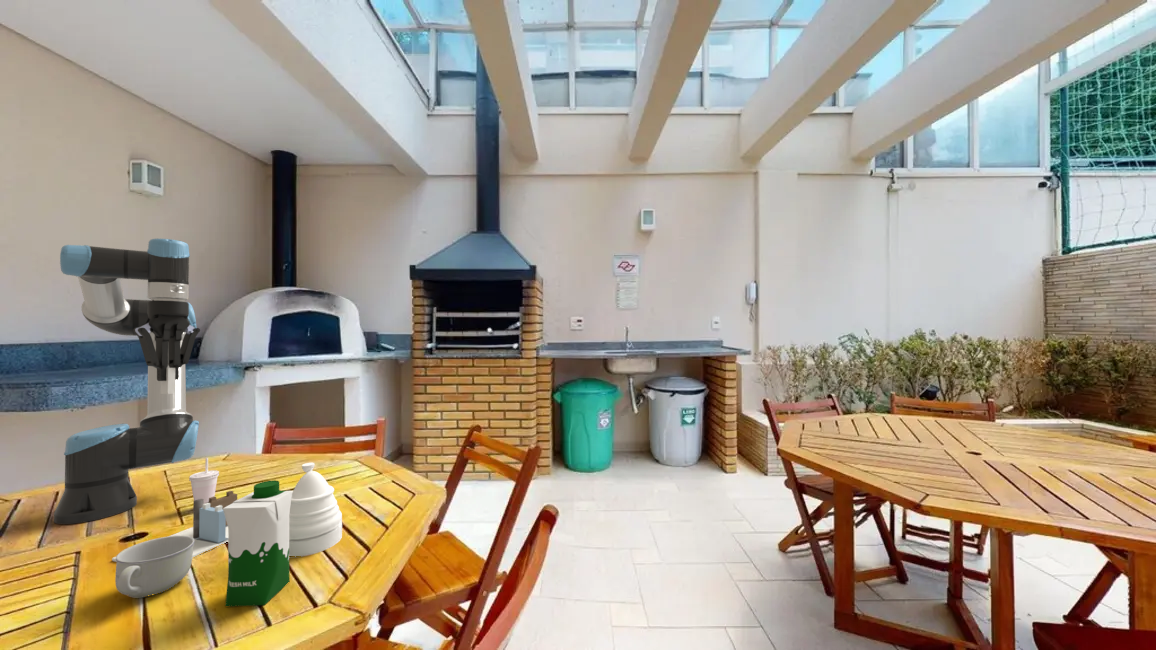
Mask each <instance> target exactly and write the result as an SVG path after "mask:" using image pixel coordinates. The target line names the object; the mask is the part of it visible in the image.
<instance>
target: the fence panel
mask: <svg viewBox="0 0 1156 650" xmlns="http://www.w3.org/2000/svg"><path fill="white" fill-rule="evenodd" d="M225 536H226V518H225V514H224V511H223V509H222V506H221V505H219V506H216V507H215V508H213V507H210V503H206V504H203V508H200V520H199V538H201V539H205V540H209V541H213V542H217V543H219V542H222V541H224V540H225Z"/></svg>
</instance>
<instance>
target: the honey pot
mask: <svg viewBox="0 0 1156 650" xmlns="http://www.w3.org/2000/svg"><path fill="white" fill-rule="evenodd" d="M314 468H315V462H305V463H303V464H302V465H301V469H302V470H303V472H305V474H303V475H302V477H301V478H300V479H299V480H298V482H297V483H296V485H295V486H294V489H293V490H291V491H292V498H291V505H290V513H289V556H295V557H294V558H297V557H296V556H301V557H307V556H311V555H314V554H319V553H321V552H323V551H326V550H328V549H330V548H332V547H334V546H335V545H336V544H338V543H339V542H340V541H341V540H342V537H343V514H342V511H341V510H340V507H339V505H338V500H337V499H336V498H335V495H334V492H335V488H334V487H333V486H332V485H330V484H329V483H328V481H327V480H326V479H325V477H324V476H323V475H322V474H321V473H320V472H317V471H315V470H313V469H314Z"/></svg>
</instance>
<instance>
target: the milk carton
mask: <svg viewBox="0 0 1156 650" xmlns="http://www.w3.org/2000/svg"><path fill="white" fill-rule="evenodd" d="M292 491H293V490H281V489H280V481H279V480H275V479H273V480H266V481H261V482H259V483H256V484H254V486H253V492H251V493H248V494H247V495H245V496H242V497H240V498H239V499H237V500H236V501H234V502H233V503H232V504H230V505H228V506H226V507H225V508H223V511H224V514H225V518H226V521H227V525H228V543H227V544H228V546H227V547H228V550H227V551H228V553H227V554H228V556H227V557H228V559H227V560H228V561H227V562H228V565H227V567H228V568H227V571H228V573H227V584H226V595H225V605H224V607H225V606H230V607H247V606H249V607H251V606H253V607H254V606H265V605H267V604H268V603H269V602H270V601H271V600H272V599H273V598H274V597H275V596H277V594H278V593H280V591H282V590H283V589H284V588H285V587H286V586H287V585H288V584H289V583H290V581H291V580H290V557H289V513H290V505H291V498H292ZM288 582H289V583H288ZM287 583H288V584H287ZM286 584H287V585H286ZM285 585H286V586H285ZM284 586H285V587H284ZM283 587H284V588H283ZM282 588H283V589H282Z"/></svg>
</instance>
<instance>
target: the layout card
mask: <svg viewBox="0 0 1156 650" xmlns="http://www.w3.org/2000/svg"><path fill="white" fill-rule="evenodd" d="M170 536H189V537H192V538H193V526H192V527H188V528H187V529H184V530H181V531H179V532H177V533H174V534H171V535H170ZM194 540H195V542H194V544H193V554H192V559H194V558H193V557H195V556H197V555H199V554H201V553H203V552H205V551H208V550H210V549H212V548H214V547H216V546H219V545H221V544H224V543H226V542H228V525H226V536H225V540H224V541H222V542H219V543H217V542H213V541H209V540H205V539H201V538H194ZM226 544H227V543H226ZM224 545H225V544H224ZM221 546H222V545H221ZM219 547H220V546H219ZM210 551H211V550H210ZM208 552H209V551H208ZM201 555H202V554H201ZM199 556H200V555H199ZM197 557H198V556H197ZM195 558H196V557H195ZM111 561H112V562H116V563H117V561H116V556H114V557H112V558H111Z"/></svg>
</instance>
